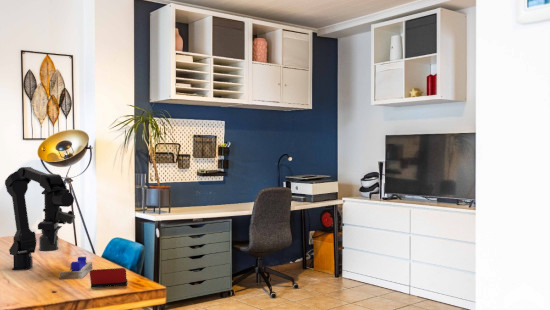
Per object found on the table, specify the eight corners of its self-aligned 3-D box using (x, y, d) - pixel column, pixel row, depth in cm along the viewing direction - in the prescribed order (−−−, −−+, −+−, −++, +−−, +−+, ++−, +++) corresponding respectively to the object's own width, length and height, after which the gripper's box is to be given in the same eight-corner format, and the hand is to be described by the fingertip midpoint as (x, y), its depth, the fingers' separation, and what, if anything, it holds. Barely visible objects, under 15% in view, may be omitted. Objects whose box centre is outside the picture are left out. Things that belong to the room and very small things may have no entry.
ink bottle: (62, 249, 282) (62, 225, 282) (47, 251, 275) (47, 227, 275) (50, 247, 288) (50, 224, 288) (35, 250, 280) (35, 226, 280)
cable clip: (75, 271, 229) (74, 256, 229) (86, 271, 230) (86, 256, 230) (67, 277, 217) (67, 262, 217) (79, 277, 218) (79, 262, 218)
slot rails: (59, 279, 214) (59, 272, 214) (71, 268, 233) (71, 262, 233) (82, 278, 215) (82, 271, 215) (92, 268, 234) (92, 262, 234)
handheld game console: (127, 281, 210) (127, 262, 210) (126, 288, 199) (125, 267, 199) (93, 283, 207) (92, 263, 207) (89, 290, 197) (89, 269, 197)
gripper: (67, 207, 215) (67, 247, 215) (78, 203, 233) (78, 240, 233) (37, 208, 213) (37, 248, 213) (50, 203, 232) (51, 241, 232)
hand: (52, 244), depth 223 cm, fingers closed
